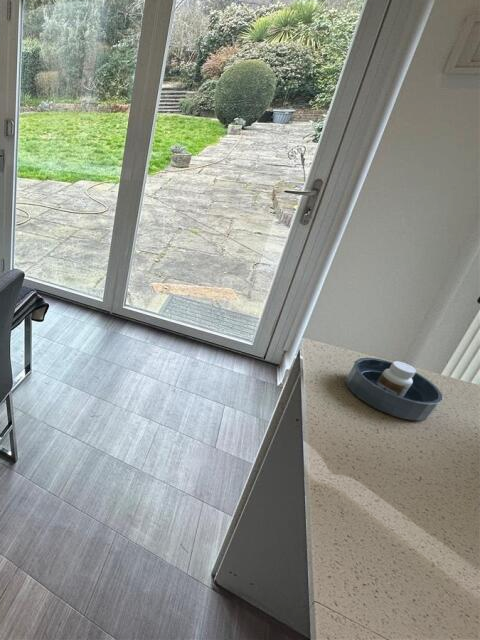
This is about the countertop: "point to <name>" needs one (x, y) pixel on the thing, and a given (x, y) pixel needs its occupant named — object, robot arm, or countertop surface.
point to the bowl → (411, 406)
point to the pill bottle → (397, 378)
